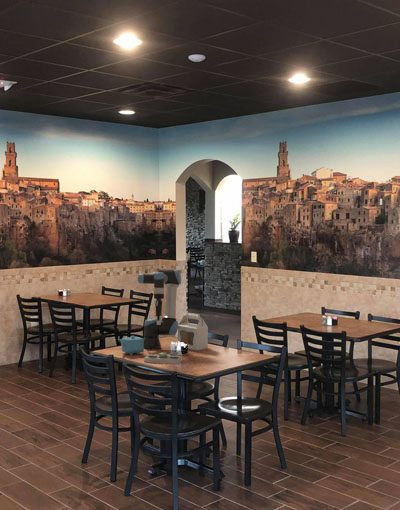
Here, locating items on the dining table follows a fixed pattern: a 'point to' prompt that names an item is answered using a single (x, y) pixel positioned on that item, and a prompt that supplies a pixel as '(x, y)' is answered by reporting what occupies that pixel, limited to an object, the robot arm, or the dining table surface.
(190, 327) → the gable box
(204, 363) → the dining table surface
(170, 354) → the slate blue button
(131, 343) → the teapot
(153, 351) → the terracotta button
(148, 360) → the button board
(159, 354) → the sage green button
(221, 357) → the dining table surface
